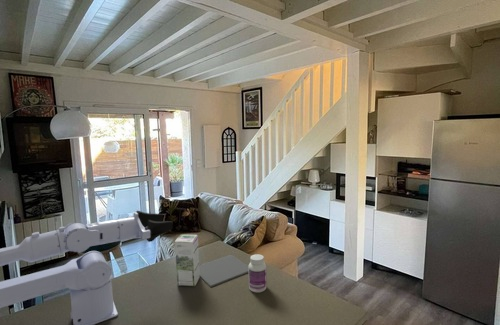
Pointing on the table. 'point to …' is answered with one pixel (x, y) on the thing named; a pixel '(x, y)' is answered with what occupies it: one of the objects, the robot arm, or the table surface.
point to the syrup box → (187, 260)
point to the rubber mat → (222, 270)
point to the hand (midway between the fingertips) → (167, 221)
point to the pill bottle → (257, 273)
